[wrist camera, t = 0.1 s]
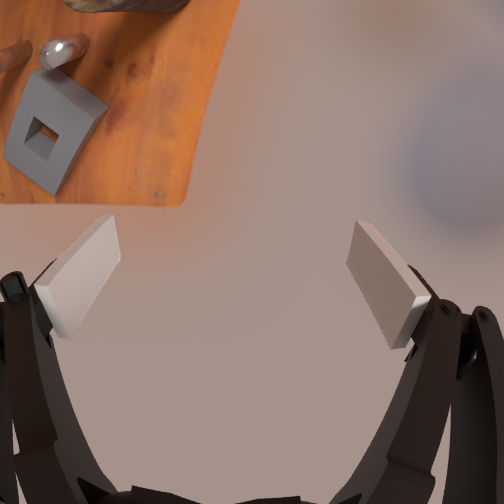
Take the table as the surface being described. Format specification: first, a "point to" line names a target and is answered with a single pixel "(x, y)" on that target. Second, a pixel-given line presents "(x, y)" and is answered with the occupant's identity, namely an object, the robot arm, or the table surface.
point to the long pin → (15, 55)
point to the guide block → (52, 127)
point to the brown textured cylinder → (126, 5)
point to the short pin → (63, 50)
